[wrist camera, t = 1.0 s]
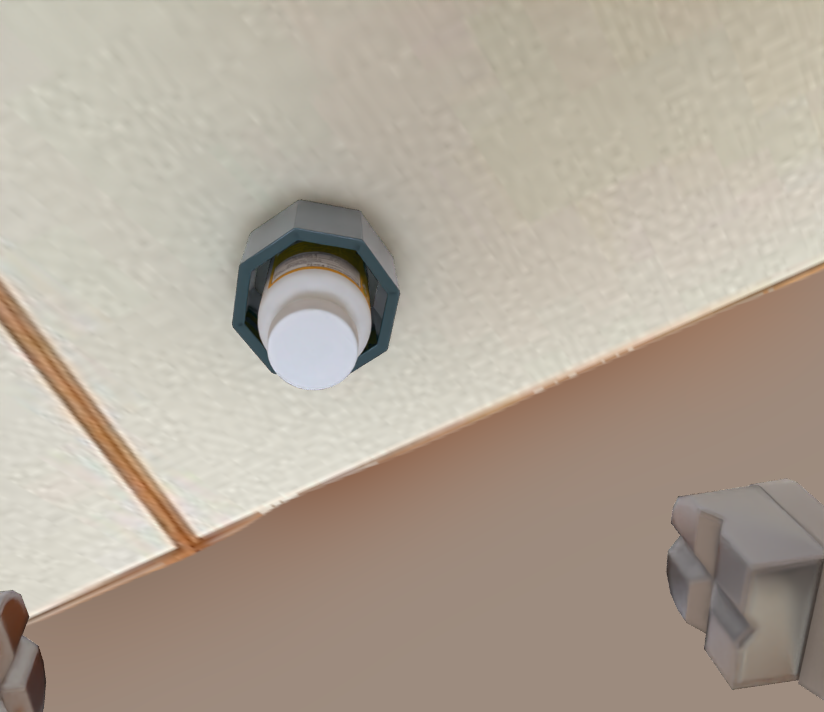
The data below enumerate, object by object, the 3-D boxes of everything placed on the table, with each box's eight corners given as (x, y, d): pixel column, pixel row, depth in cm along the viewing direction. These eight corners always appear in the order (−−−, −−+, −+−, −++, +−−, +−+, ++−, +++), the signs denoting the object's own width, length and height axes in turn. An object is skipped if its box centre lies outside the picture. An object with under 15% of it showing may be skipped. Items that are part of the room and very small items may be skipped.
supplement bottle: (296, 208, 41) (285, 271, 33) (385, 254, 43) (397, 327, 34) (252, 292, 43) (230, 373, 34) (338, 334, 45) (338, 421, 36)
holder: (335, 174, 41) (334, 200, 36) (416, 290, 44) (425, 326, 39) (215, 256, 42) (201, 290, 37) (303, 362, 45) (299, 405, 41)
